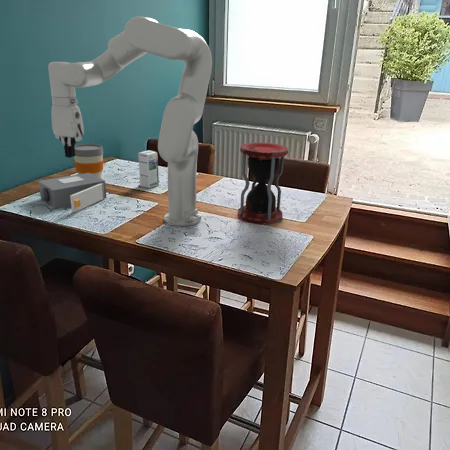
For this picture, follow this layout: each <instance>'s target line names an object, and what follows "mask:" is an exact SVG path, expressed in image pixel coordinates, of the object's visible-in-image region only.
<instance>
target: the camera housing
mask: <svg viewBox="0 0 450 450" xmlns="http://www.w3.org/2000/svg"><path fill="white" fill-rule="evenodd" d="M100 183H103V186H104V199H107V188H106V186H107V185H106V180H104V179H103V178H102V179H101V178H99V177H97V176H95V175H93V174H91V173H83V174H78V173H77V174H73V175H67V176H61V177H60V176H59V177H55V178H48V179H44V180H43V179H42V180H38V186H39V194H40V199H41V200H42V201H43V202H44V203H46V204H48V205H49V206H51V207H52V208H53V209H55V210H56V209H61V208H66V207H67V208H68V207H70V206H71V199H70V195H73V194H75V193H78V192H80V191H83V190H85V189H88V188H90V187H93V186H95V185H98V184H100Z"/></svg>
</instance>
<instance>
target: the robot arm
mask: <svg viewBox="0 0 450 450" xmlns="http://www.w3.org/2000/svg"><path fill="white" fill-rule="evenodd" d="M107 47H108V48H107V49H106V50H105V51H104V52H103V53H102V54H101V55H100V54H99V56H97V57H96V58H94V59H92V60H90V61H78V62H68V61H51V62H49V63H48V66H47V67H48V75H49V76H48V79H49V85H50V95H51V103H52V105H51V111H50V112H51V117H50V118H51V129H52V132H53V134H54V138H55V139H57V140H59V141H60V142H61V145H62V146H63V148H64V156H65V158H69V159H71V158H74V156H75V146H76V145H77V142H81V141H83V136H84V135H85V129H84V128H85V126H84V121H83V116H82V112H81V109H80V106H78V104H79V99H77V95H76V94H77V93H76V88H77V89H80V88H81V89H82V88H87V87H88V88H89V87H92V86H98V85H101V84H102V83H104V82H106V81H107V80H109V79H111V78H112V77H114V76H115V75H117V74H119V72H121V71H122V70H124V69H125V67H127V66H128V65H130V64H131V63H133V62H134V61H136V60H138V59H140V58H141V57H143V56H145V55H146V54H151V55H154V56H157V57H160V58H164V59H167V60H170V61H175V62H183V61H184V68H183V71H182V73H181V78H180V83H179V87H178V92H177V95H176V96H174V97H172V98H171V99H170V100H169V101H168V102H167V103H166V105H165V108H164V111H163V115H162V120H161V126H160V131H159V135H158V141H157V150H158V153H159V157H160V158H161V159H162V160H163V161H165V162H166V163H167V202H168V203H167V204H168V206H167V207H168V212H167V213H166V214H164V216H163V219H164V222H165V223H166V224H169V225H171V226H176V227H177V226H178V227H187V226H194V225H197V224H198V223H199V222H201V220H202V215H201V214H200V213H199V211H198V209H197V171H198V170H197V167H198V165H197V164H198V163H197V162H198V153H199V139H198V135H197V134H196V132H195V131H194V130H193V129H194V126H195V124H197V123H198V122H199V121H200V120H201V118H202V116H203V113H204V109H205V108H204V107H205V103H206V98H207V95H208V90H209V89H208V88H209V85H210V79H211V75H212V70H213V69H212V67H213V57H212V56H213V55H212V52H211V49H210V46H209V45H208V44H207V42H206V40H205V39H204V37H202V36H201V35H200V34H198V33H197V32H195V31H194V30H191V29H186V28H180V27H179V28H178V27H174V26H171V25H167V24H165V23H161V22H158V21H157V20H156V19H154V18H152V17H149V16H148V17H146V16H142V15H140V16H138V15H137V16H133V17H132V18H130V19H129V20H128V21H127V23H126V24H125V26H124V30H123V31H122V32H120V33H119V34H117V35H115V36H114V37H112V38H111V39H109V41H108V42H107Z"/></svg>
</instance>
